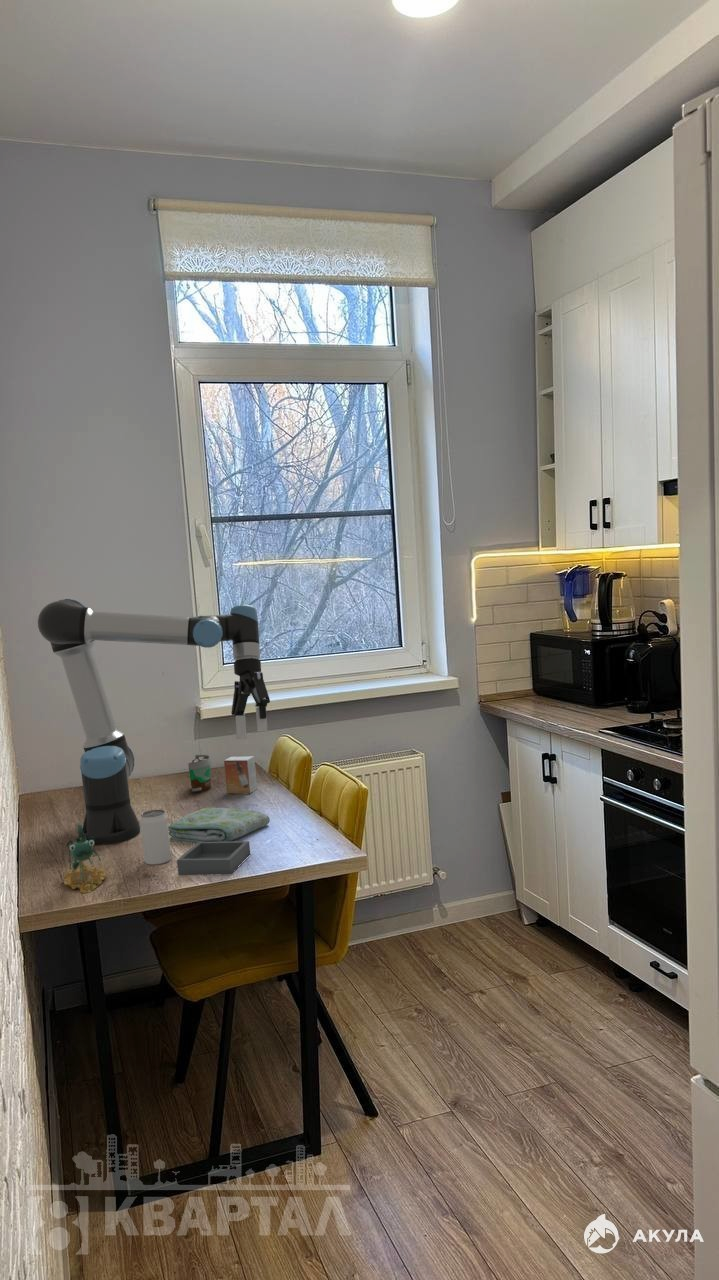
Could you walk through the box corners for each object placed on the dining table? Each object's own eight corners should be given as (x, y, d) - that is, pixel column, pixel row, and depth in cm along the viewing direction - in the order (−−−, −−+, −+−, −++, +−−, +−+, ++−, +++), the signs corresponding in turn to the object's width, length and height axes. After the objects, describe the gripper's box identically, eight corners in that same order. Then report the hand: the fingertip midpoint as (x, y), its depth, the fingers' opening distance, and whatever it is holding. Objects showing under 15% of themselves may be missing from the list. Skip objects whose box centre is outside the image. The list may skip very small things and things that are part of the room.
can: (176, 856, 228) (170, 808, 226) (164, 865, 221) (159, 816, 220) (151, 856, 229) (146, 809, 228) (139, 865, 223) (134, 817, 222)
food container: (211, 793, 286) (207, 761, 285) (191, 795, 286) (188, 763, 285) (217, 783, 299) (214, 752, 298) (198, 784, 299) (195, 754, 298)
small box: (226, 794, 284) (223, 760, 283) (234, 789, 289) (230, 756, 288) (250, 794, 282) (247, 760, 281) (257, 788, 287) (254, 755, 286)
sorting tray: (178, 874, 214) (176, 860, 213) (200, 855, 226) (198, 841, 226) (231, 874, 211) (229, 859, 210) (250, 855, 223) (249, 841, 223)
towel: (210, 820, 258) (208, 802, 258) (271, 826, 247) (269, 807, 247) (165, 840, 243) (163, 821, 242) (228, 848, 232) (226, 828, 231)
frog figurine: (105, 865, 226) (99, 808, 223) (110, 897, 209) (104, 836, 206) (64, 872, 223) (57, 814, 220) (65, 906, 206) (58, 843, 203)
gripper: (278, 650, 253) (284, 727, 248) (241, 669, 273) (245, 741, 269) (253, 649, 249) (258, 728, 244) (217, 668, 269) (221, 741, 265)
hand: (251, 735), depth 256 cm, fingers open, 13 cm apart
